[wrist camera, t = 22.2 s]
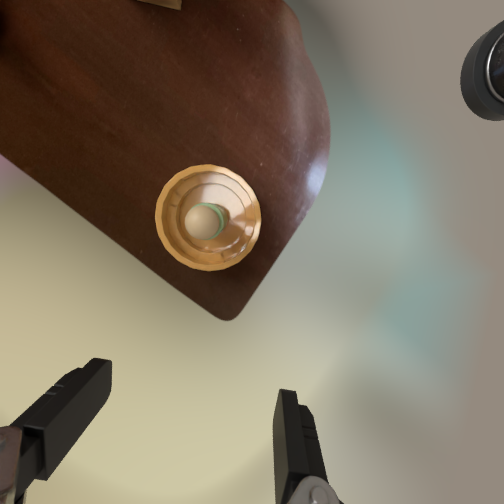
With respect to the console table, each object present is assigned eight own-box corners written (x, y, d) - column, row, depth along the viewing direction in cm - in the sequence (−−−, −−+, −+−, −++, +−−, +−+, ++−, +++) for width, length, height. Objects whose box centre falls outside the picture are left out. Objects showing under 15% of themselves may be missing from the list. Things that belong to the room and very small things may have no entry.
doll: (230, 206, 37) (223, 206, 26) (224, 236, 37) (216, 248, 27) (200, 200, 36) (181, 198, 26) (195, 230, 37) (175, 240, 26)
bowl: (267, 180, 37) (270, 176, 32) (249, 269, 39) (250, 278, 34) (174, 161, 36) (162, 154, 31) (161, 253, 38) (149, 260, 33)
